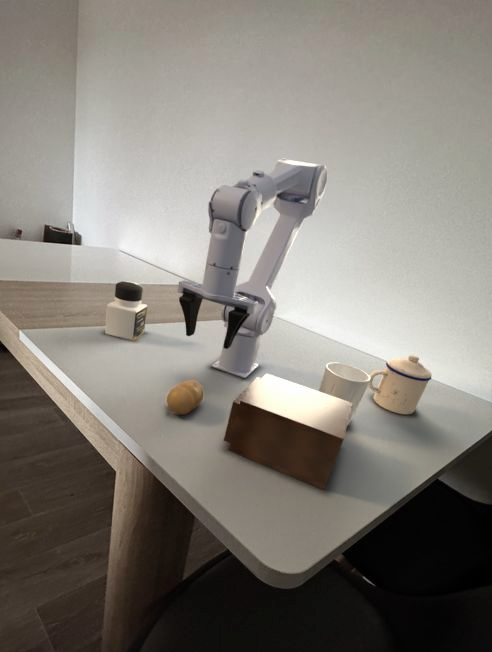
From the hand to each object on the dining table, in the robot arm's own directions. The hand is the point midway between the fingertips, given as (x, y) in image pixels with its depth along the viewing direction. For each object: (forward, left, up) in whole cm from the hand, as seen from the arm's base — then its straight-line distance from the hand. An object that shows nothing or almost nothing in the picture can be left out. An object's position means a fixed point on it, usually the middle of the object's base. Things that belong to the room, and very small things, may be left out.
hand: (208, 340), depth 72 cm
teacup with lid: (-23, +35, -10) cm, 43 cm away
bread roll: (+10, +3, -9) cm, 14 cm away
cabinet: (+10, +20, -9) cm, 24 cm away
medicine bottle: (-12, -26, -10) cm, 30 cm away
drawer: (+10, +18, -9) cm, 22 cm away
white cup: (-6, +25, -10) cm, 27 cm away
